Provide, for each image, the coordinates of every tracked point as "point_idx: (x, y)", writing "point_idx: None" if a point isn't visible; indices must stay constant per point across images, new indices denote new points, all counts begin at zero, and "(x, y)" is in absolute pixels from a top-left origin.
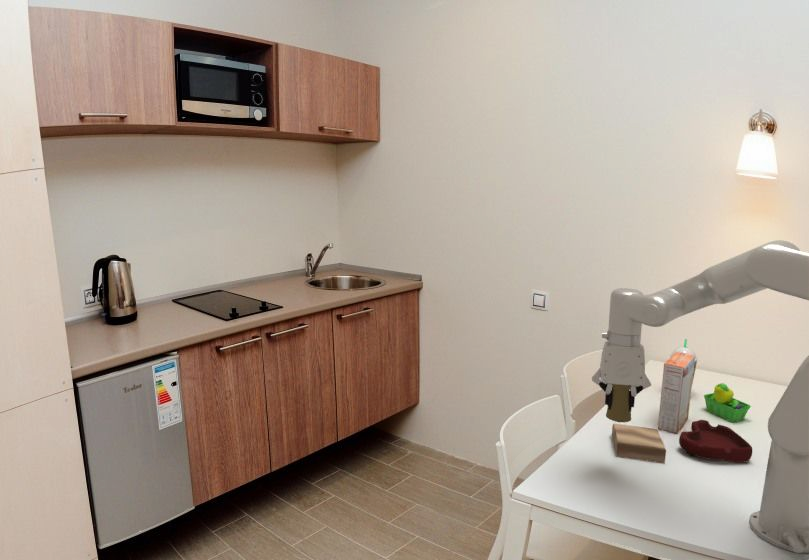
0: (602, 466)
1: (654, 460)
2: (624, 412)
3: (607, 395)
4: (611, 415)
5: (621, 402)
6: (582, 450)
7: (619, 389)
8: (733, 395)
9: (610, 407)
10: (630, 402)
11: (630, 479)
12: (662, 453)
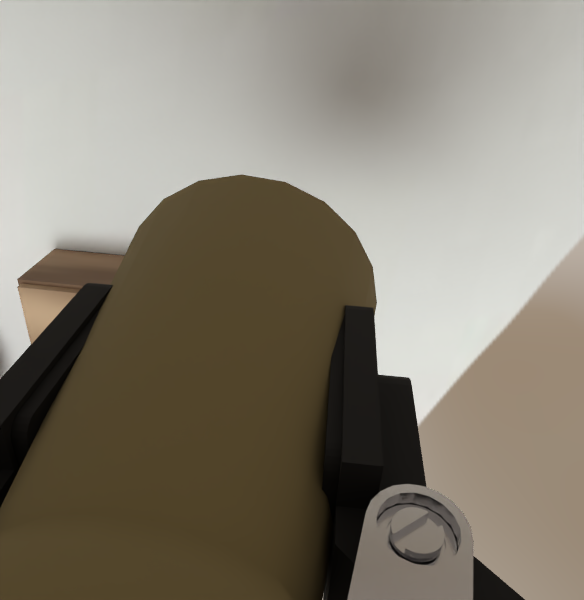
0: (364, 151)
1: (96, 255)
2: (174, 240)
3: (403, 480)
4: (337, 246)
5: (183, 328)
6: (437, 297)
7: (156, 552)
8: None
9: (350, 318)
10: (44, 355)
11: (230, 35)
12: (43, 272)
